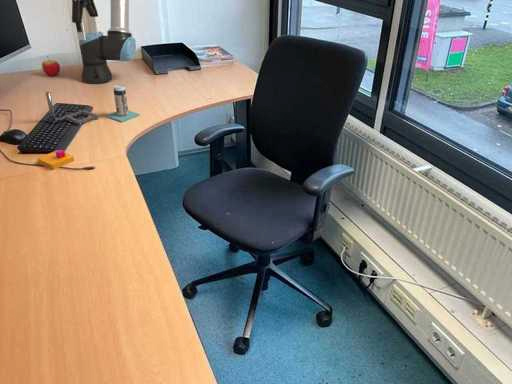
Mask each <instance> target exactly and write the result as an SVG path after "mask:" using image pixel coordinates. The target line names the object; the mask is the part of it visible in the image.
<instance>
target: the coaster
mask: <svg viewBox="0 0 512 384" xmlns="http://www.w3.org/2000/svg"><path fill="white" fill-rule="evenodd" d="M139 116H140V117H141V114H140V113H138V112H134V111H132V110H129V109H128V114H127V115H126V116H119V115H117V112H116V111H113V112H111V113H107V114H105V115H104V117H105V118H108V119H111V120H113V121H117V122H120V123H124V122H127V121H129V120H132V119H134V118H137V117H139Z"/></svg>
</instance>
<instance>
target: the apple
mask: <svg viewBox="0 0 512 384" xmlns="http://www.w3.org/2000/svg"><path fill="white" fill-rule="evenodd" d="M46 57H47V59H48V60H44V61H42V62H41V68H42V70H43V72H44V74H46V75H47V76H49V77H55V76H58V75H59V73H60V71H61V66H60V64H59V62H58V61H56V60H53V59H51V60H50V59H49V57H48V55H46Z"/></svg>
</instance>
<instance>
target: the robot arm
mask: <svg viewBox="0 0 512 384" xmlns="http://www.w3.org/2000/svg"><path fill="white" fill-rule="evenodd" d="M71 2H72V3H71V21H72V23H74V24H75V28H76V35H77V39H78V45H79V50H80V56H81V62H82V68H81V69H82V70H81V76H80V77H81V81H82V82H83V83H84V84H90V85H99V84H100V85H101V84H106V83H109V82H108V81H110V80H111V81H113V79H112V78H113V73H112V72H111V70H110V68H109V65H108V63H107V62H108V61H115V62H131V61H132V60H133V59H134V57H135V56H136V50H137V44H136V43H137V42H136V39H135V38H134V37H133V33H132V32H131V31H130V30H129V27H130V24H129V22H130V18H129V17H130V16H129V15H130V14H129V13H130V0H110V28H109V29H108V30H107V31H106V32H107V33H106V35H104V32H103V31H99V29H98V23H97V17H99V14H98V13H99V12H98V10H97V7H96V4H95V1H94V0H72V1H71ZM84 8H85V9H86V12H87V14H88V15H89V16H88V21H89V28H90V31H89V32H85V28H84V27H85V26H84V23H83V22H82V21H83V14H84ZM111 81H110V82H111Z"/></svg>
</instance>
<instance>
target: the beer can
mask: <svg viewBox="0 0 512 384" xmlns="http://www.w3.org/2000/svg"><path fill="white" fill-rule="evenodd" d="M113 96H114V104H115V112H117V115H119V116H126V115H127V114H128V110H129V106H128V98H127V91H126V87H125V86H124V85H121V84H117V85H114V86H113Z"/></svg>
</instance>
